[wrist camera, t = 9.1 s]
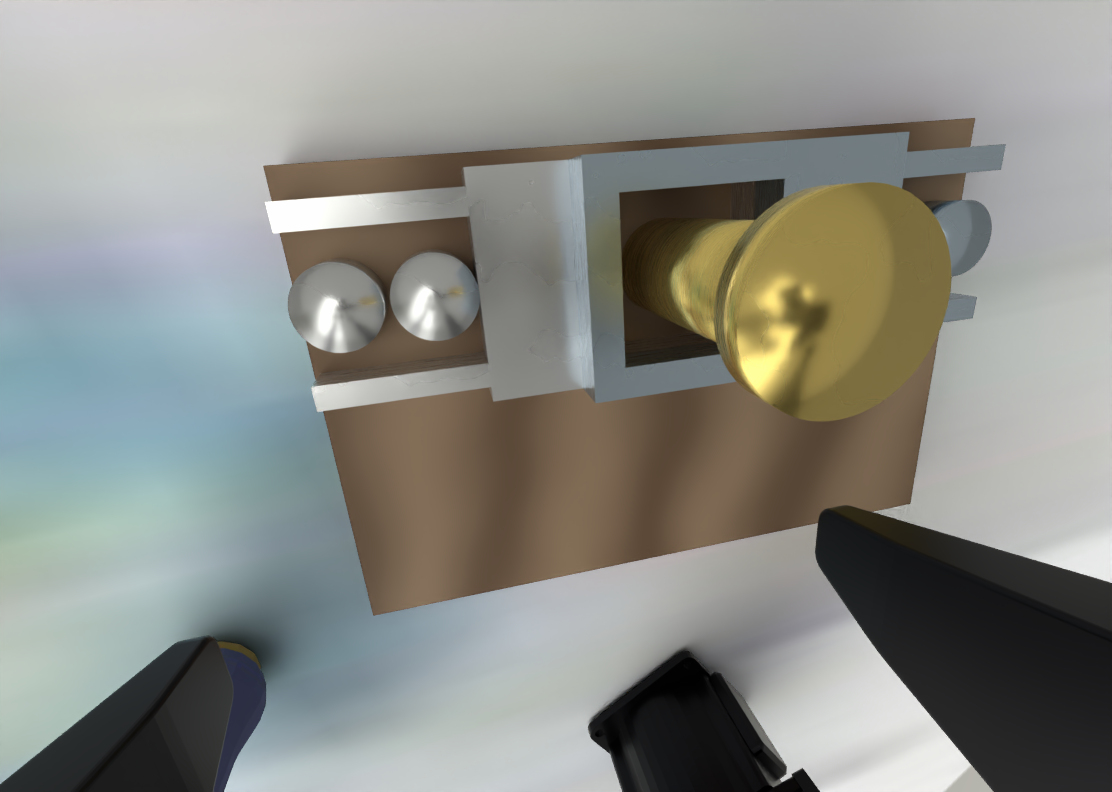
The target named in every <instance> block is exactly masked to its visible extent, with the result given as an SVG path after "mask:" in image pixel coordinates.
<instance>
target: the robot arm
mask: <svg viewBox="0 0 1112 792" xmlns="http://www.w3.org/2000/svg"><path fill="white" fill-rule="evenodd" d="M815 555H816V560H817V563H818V565H819V567H820V569H821V570H822V572H823V573H824V575H825V576H826V578H827V579H828V581H829V582H830V583H831V585H832V586H833V588H834V589H835V591H836V592H837V594H838V595H839V597H840V598H841V599H842V601H843V602H844V604H845V605H846V607H847V608H848V610H849V611H850V612H851V614H852V615H853V617H854V618H855V620H856V621H857V623H858V624H859V626H860V627H861V628H862V630H863V631H864V633H865V634H866V636H867V637H868V638H869V640H870V641H871V643H872V644H873V645H874V647H875V648H876V649H877V651H878V652H879V653H880V655H881V656H882V657H883V658H884V660H885V661H886V662H887V664H888V665H889V666H890V667H891V668H892V670H893V671H894V672H895V673H896V675H897V676H898V677H899V678H900V679H901V681H902V682H903V683H904V684H905V685H906V687H907V688H908V689H909V690H910V691H911V693H912V694H913V695H914V696H915V697H916V699H917V700H918V701H919V702H920V703H921V705H922V706H923V707H924V708H925V709H926V711H927V712H928V713H929V714H930V716H931V717H932V718H933V719H934V720H935V722H936V723H937V724H938V725H939V726H940V728H941V729H942V730H943V731H944V732H945V734H946V735H947V736H948V737H949V738H950V740H951V741H952V742H953V743H954V744H955V746H956V747H957V748H958V749H959V750H960V752H961V753H962V754H963V755H964V757H965V758H966V759H967V760H968V761H969V763H970V764H971V765H972V766H973V767H974V768H975V770H976V771H977V772H978V773H979V774H980V776H981V777H982V778H983V779H984V781H985V782H986V783H987V784H988V785H989V787H990V788H991V789H992V790H993V791H994V792H1112V583H1110V582H1107V581H1103V580H1100V579H1097V578H1093V577H1090V576H1086V575H1083V574H1080V573H1076V572H1073V571H1070V570H1066V569H1063V568H1059V567H1056V566H1053V565H1049V564H1046V563H1042V562H1039V561H1036V560H1032V559H1029V558H1026V557H1022V556H1019V555H1015V554H1012V553H1009V552H1005V551H1002V550H998V549H995V548H992V547H988V546H985V545H982V544H978V543H975V542H971V541H968V540H965V539H961V538H958V537H955V536H951V535H948V534H944V533H941V532H938V531H934V530H931V529H927V528H924V527H921V526H917V525H914V524H911V523H907V522H904V521H900V520H897V519H894V518H890V517H887V516H884V515H880V514H877V513H873V512H870V511H867V510H863V509H860V508H856V507H853V506H849V505H841V506H837V507H832V508H827V509H824V510H823V511H822V512H821V513H820V515H819V519H818V528H817V538H816V548H815ZM233 693H234V692H233V682H232V679H231V676H230V673H229V671H228V668H227V665H226V663H225V660H224V658H223V655H222V652H221V650H220V647H219V644H218V643H217V641H216V640H215V638H214V637H211V636H202V637H198V638H193V639H188V640H183V641H179V642H177V643H175V644H174V645H172V646H171V647H170V648H168V649H167V650H166V651H165V652H163V653H162V654H161V655H160V656H159V657H157V658H156V659H155V660H154V661H152V662H151V663H150V664H149V665H147V666H146V667H145V668H144V669H142V670H141V671H140V672H139V673H137V674H136V675H135V676H134V677H133V678H131V679H130V680H129V681H128V682H126V683H125V684H124V685H123V686H121V687H120V688H119V689H118V690H116V691H115V692H114V693H113V694H111V695H110V696H109V697H108V698H106V699H105V700H104V701H103V702H102V703H100V704H99V705H98V706H97V707H95V708H94V709H93V710H92V711H90V712H89V713H88V714H87V715H85V716H84V717H83V718H82V719H80V720H79V721H78V722H77V723H76V724H74V725H73V726H72V727H71V728H69V729H68V730H67V731H66V732H64V733H63V734H62V735H61V736H59V737H58V738H57V739H56V740H54V741H53V742H52V743H51V744H49V745H48V746H47V747H46V748H45V749H43V750H42V751H41V752H40V753H38V754H37V755H36V756H35V757H33V758H32V759H31V760H30V761H28V762H27V763H26V764H25V765H23V766H22V767H21V768H20V769H19V770H17V771H16V772H15V773H14V774H12V775H11V776H10V777H9V778H7V779H6V780H5V781H4V782H2V783H1V784H0V792H213V791H214V786H215V781H216V777H217V772H218V767H219V763H220V758H221V753H222V749H223V744H224V739H225V735H226V730H227V725H228V721H229V716H230V711H231V707H232V702H233ZM588 730H589V734H590V737H591V739H592V740H593V741H595V742H596V743H597V744H598V745H600V746H601V747H602V748H603V749H605V750H606V751H607V752H608V753H610V755H611V758H612V761H613V764H614V767H615V771H616V774H617V777H618V780H619V783H620V786H621V789H622V792H820V791H819V790H818V788H817V787H816V786H815V784H814V783H813V781H812V780H811V779H810V777H809V776H808V775H807V773H806V772H805V771H804V769H803V768H802V769H800V770H798V771H796V772H794V773H793V774H792V777H791V778H789V779H787V780H786V781H784V782H781V780H780V778H782V777H783V776H784V775H786V770H787V766H786V765H785V763H784V761H783V760H782V758H781V757H780V755H779V754H778V752H777V750H776V749H775V747H774V746H773V744H772V743H771V741H770V739H769V738H768V736H767V735H766V733H765V732H764V730H763V728H762V727H761V725H760V724H759V722H758V720H757V719H756V717H755V716H754V714H753V713H752V711H751V709H750V708H749V706H748V705H747V703H746V702H745V700H744V698H743V697H742V696H741V695H740V694H739V693H738V691H737V690H736V689H735V688H734V687H733V686H732V685H731V684H730V683H729V682H728V681H727V680H726V679H725V678H724V677H723V676H722V674H721V673H716V672H714V673H713V674H711V673H710V672H709V671H708V670H707V669H706V668H705V667H704V666H703V665H702V664H701V662H700V661H699V660H698V659H697V658H696V657H695V656H694V655H693V654H692V653H691V652H689V651H684V652H681V653H679V654H678V655H676V656H675V657H674V658H673V659H671V660H670V661H669V662H667V663H666V664H665V665H664V666H662V667H661V668H660V669H658V670H657V671H656V672H655V673H653V674H652V675H651V676H649V677H648V678H647V679H646V680H644V681H643V682H642V683H641V684H639V685H638V686H637V687H635V688H634V689H633V690H632V691H630V692H629V693H628V694H626V695H625V696H624V697H623V698H621V699H620V700H619V701H617V702H616V703H615V704H614V705H612V706H611V707H610V708H608V709H607V710H606V711H605V712H603V713H602V714H601V715H600V716H598V717H597V718H596V719H594V720H593V721H592V722H591V723H590V724H589V726H588Z"/></svg>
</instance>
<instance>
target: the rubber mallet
mask: <svg viewBox="0 0 1112 792" xmlns="http://www.w3.org/2000/svg"><path fill="white" fill-rule="evenodd" d="M217 643H218V644H219V647H220V650H221V652H222V655H223V658H224V660H225V663H226V665H227V668H228V671H229V673H230V676H231V679H232V682H233V692H234V693H233V702H232V707H231V711H230V716H229V721H228V725H227V730H226V735H225V739H224V744H223V749H222V753H221V758H220V763H219V767H218V772H217V777H216V781H215V786H214V791H213V792H224V789H225V787H226V784H227V781H228V778H229V776H230V773H231V770H232V768H233V765H234V762H235V760H236V758H237V756H238V754H239V753H240V751H241V749H242V748H243V746H244V745H245V743H246V742H247V740H248V739H249V737H250V736H251V734H252V733H253V731H254V729H255V728H256V726H257V724H258V723H259V721H260V719H261V716H262V714H263V711H264V708H265V704H266V682H265V679H264V676H263V673H262V672H261V670H260V669H261V665H260V663H259V661H258V659H257V657H256V655H255V654H254V653H253V652H252V651H250V650H248V649H247V648H245V647H244V646H242V645H240V644H235V643H229V642H223V641H219V642H217Z"/></svg>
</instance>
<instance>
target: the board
mask: <svg viewBox="0 0 1112 792" xmlns="http://www.w3.org/2000/svg"><path fill="white" fill-rule="evenodd" d="M974 122H975V118H969V119H954V120H939V121H924V122H909V123H894V124H879V125H864V126H850V127H835V128H820V129H805V130H790V131H775V132H760V133H745V134H730V135H715V136H701V137H686V138H671V139H656V140H641V141H626V142H611V143H596V144H581V145H566V146H551V147H537V148H522V149H507V150H492V151H477V152H462V153H447V154H432V155H417V156H402V157H388V158H373V159H358V160H343V161H328V162H313V163H298V164H283V165H268V166H263V167H264V171H265V175H266V179H267V183H268V187H269V191H270V195H271V199H272V201H284V200H297V199H310V198H323V197H336V196H348V195H361V194H374V193H387V192H400V191H413V190H425V189H438V188H451V187H463V184H462V176H461V170H462V168H463V167H472V166H486V165H500V164H514V163H528V162H542V161H556V160H568V159H571V158H574V157H577V156H579V155H585V154H599V153H614V152H628V151H642V150H656V149H670V148H685V147H699V146H713V145H727V144H741V143H756V142H770V141H784V140H798V139H812V138H826V137H841V136H855V135H869V134H883V133H897V132H909V140H908V147H907V152H913V151H926V150H938V149H951V148H964V147H970V145H971V140H972V134H973V128H974ZM965 175H966V173H957V174H946V175H934V176H923V177H911V178H903V185H902V189H904V190H906V191H908V192H910V193H912V194H913V195H914V196H916V197H917V198H919V199H920V200H921V201H922V202H926V201H948V200H961V199H962V193H963V187H964V181H965ZM619 204H620V232H621V253H622V250H623V248H624V246H625V244H626V242H627V240H628V239H629V237H630V236H631V235H632V234H633V232H634V231H635V230H637V229H638V228H639V227H640V226H642V225H643V224H645V223H647V222H648V221H651V220H654V219H658V218H666V217H667V218H702V219H730V215H731V183H726V184H715V185H703V186H691V187H679V188H667V189H655V190H643V191H631V192H619ZM280 236H281V240H282V244H283V248H284V253H285V257H286V261H287V265H288V269H289V273H290V277H291V281H292V285H293V283H294V282H295V280H296V279H297V278H298V277H299V275H301V274H302V273H303V272H304V271H306V270H307V269H309V268H311V267H313V266H315V265H317V264H319V263H321V262H323V261H326V260H329V259H335V258H345V259H351V260H355V261H358V262H360V263H362V264H364V265H366V266H367V267H369V268H370V269H371V270H372V271H374V272H375V273H376V274H377V276H378V277H379V278H380V280H381V281H382V283H383V285H384V287H385V289H386V292H387V296H388V310H387V314H386V318H385V320H384V322H383V324H382V327H381V329H380V331H379V333H378V334H377V336H376V337H375V338H374V339H373V340H372V341H371V342H370V343H369V344H368V345H366V346H364V347H363V348H361V349H359V350H356V351H353V352H347V353H333V352H328V351H324V350H321V349H319V348H317V347H315V346H313V345H311V344H310V343H309V342H307V341H306V342H307V346H308V351H309V355H310V359H311V363H312V367H313V371H314V375H315V379H317V378H318V376H319V375H320V373H324V372H332V371H339V370H347V369H354V368H362V367H370V366H377V365H385V364H393V363H400V362H408V361H415V360H423V359H431V358H438V357H446V356H453V355H461V354H469V353H476V352H484V347H483V339H482V331H481V323H480V316H479V309H478V312H477V315H476V317H475V319H474V321H473V322H472V324H471V325H470V326H469V327H468V328H467V329H466V330H465V331H464V332H463V333H461V334H460V335H458V336H456V337H454V338H451V339H448V340H443V341H430V340H425V339H422V338H419V337H417V336H415V335H413V334H411V333H410V332H409V331H407V330H406V329H405V328H404V327H403V326H402V325H401V324H400V323H399V321H398V320H397V318H396V317H395V315H394V312H393V310H392V307H391V302H390V288H391V284H392V280H393V278H394V276H395V274H396V272H397V270H398V269H399V267H400V266H401V264H402V263H403V262H404V261H405V260H406V259H407V258H408V257H410V256H411V255H413V254H415V253H417V252H419V251H423V250H428V249H438V250H443V251H447V252H449V253H452V254H453V255H455V256H457V257H458V258H460V259H461V260H462V261H463V262H464V263H465V264H466V265H467V266H468V268H469V269H470V271H471V273H472V274H473V276H474V269H473V261H472V254H471V246H470V238H469V230H468V223H467V216H466V217H455V218H443V219H432V220H420V221H409V222H398V223H386V224H375V225H363V226H352V227H340V228H329V229H318V230H306V231H295V232H283V233H280ZM474 278H475V277H474ZM623 314H624V341H630V340H638V339H645V338H652V337H660V336H667V335H675V334H682V333H690V332H692V331H690V330H688V329H686V328H684V327H682V326H679V325H677V324H675V323H673V322H671V321H669V320H666V319H664V318H662V317H660V316H658V315H656V314H653V313H651V312H649V311H647V310H645V309H643V308H641V307H639V306H637V305H636V304H634V303H633V302H632V301H631V300H630V299H629V297H628V296H627V295H626V293H625V291H624V289H623ZM938 335H939V333H938ZM938 335H937V337H936V339H935V341H934V343H933V345H932V347H931V349H930V351H929V352H928V354H927V355H926V357H925V358H924V360H923V362H922V363H921V364H920V366H919V367H918V368H917V369H916V371H915V372H914V373H913V374H912V376H911V377H910V378H909V379H908V380H907V381H906V382H905V383H904V384H903V385H902V386H901V387H900V388H899V389H897V390H896V391H895V392H894V393H893V394H892V395H890V396H889V397H888V398H886V399H885V400H883V401H882V402H881V403H879V404H877V405H875V406H874V407H872V408H870V409H868V410H866V411H864V412H862V413H859V414H857V415H855V416H851V417H848V418H844V419H840V420H834V421H808V420H803V419H799V418H796V417H792V416H790V415H788V414H786V413H784V412H782V411H780V410H778V409H776V408H775V407H773V406H771V405H769V404H768V403H766V402H764V401H762V400H761V399H759V398H757V397H755V396H754V395H752V394H751V393H749V392H748V391H746V390H745V389H744V388H743V387H742V386H741V385H739V384H738V383H737V382H732V383H725V384H719V385H712V386H706V387H699V388H693V389H686V390H680V391H673V392H666V393H660V394H653V395H647V396H640V397H634V398H627V399H621V400H614V401H608V402H601V403H595V402H594V401H593V400H592V399H591V397H590V396H589V395H588V394H587V393H586V391H585V390H584V389H583V388H582V389H575V390H569V391H562V392H555V393H548V394H541V395H535V396H528V397H521V398H514V399H508V400H501V401H494V402H493V399H492V396H491V393H490V390H489V387H488V388H481V389H474V390H467V391H460V392H453V393H446V394H439V395H432V396H425V397H418V398H411V399H404V400H397V401H390V402H383V403H376V404H369V405H362V406H355V407H348V408H341V409H334V410H327V411H323V412H324V416H325V420H326V424H327V428H328V432H329V436H330V440H331V445H332V449H333V453H334V457H335V461H336V465H337V469H338V473H339V477H340V481H341V485H342V489H343V494H344V498H345V502H346V506H347V510H348V514H349V518H350V522H351V526H352V530H353V534H354V539H355V543H356V547H357V551H358V555H359V559H360V563H361V567H362V571H363V575H364V579H365V583H366V588H367V592H368V596H369V600H370V604H371V608H372V612H373V616H374V615H379V614H384V613H389V612H393V611H398V610H403V609H408V608H413V607H417V606H422V605H427V604H432V603H437V602H441V601H446V600H451V599H456V598H461V597H465V596H470V595H475V594H480V593H484V592H489V591H494V590H499V589H504V588H508V587H513V586H518V585H523V584H528V583H532V582H537V581H542V580H547V579H552V578H556V577H561V576H566V575H571V574H576V573H580V572H585V571H590V570H595V569H600V568H604V567H609V566H614V565H619V564H623V563H628V562H633V561H638V560H643V559H647V558H652V557H657V556H662V555H667V554H671V553H676V552H681V551H686V550H691V549H695V548H700V547H705V546H710V545H715V544H719V543H724V542H729V541H734V540H739V539H743V538H748V537H753V536H758V535H762V534H767V533H772V532H777V531H782V530H786V529H791V528H796V527H801V526H806V525H810V524H815V523H818V519H819V515H820V513H821V512H822V511H823V510H824V509H827V508H832V507H837V506H841V505H849V506H853V507H856V508H860V509H863V510H867V511H870V512H873V511H878V510H882V509H887V508H892V507H897V506H902V505H906V504H910V502H911V496H912V490H913V484H914V478H915V472H916V466H917V460H918V454H919V448H920V442H921V436H922V430H923V425H924V419H925V413H926V407H927V401H928V395H929V389H930V383H931V377H932V371H933V365H934V359H935V353H936V347H937V341H938Z"/></svg>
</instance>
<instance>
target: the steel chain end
mask: <svg viewBox="0 0 1112 792" xmlns="http://www.w3.org/2000/svg"><path fill="white" fill-rule="evenodd" d="M461 176H462V184H463V187H451V188H438V189H425V190H413V191H400V192H387V193H374V194H361V195H348V196H336V197H323V198H310V199H297V200H284V201H271V202H265V204H266V208H267V212H268V216H269V220H270V224H271V228H272V232H273V233H283V232H295V231H306V230H318V229H329V228H340V227H352V226H363V225H375V224H386V223H398V222H409V221H420V220H432V219H443V218H455V217H466V216H467V223H468V230H469V238H470V246H471V254H472V261H473V269H474V276H473V274H472V273H471V271H470V269H469V268H468V266H467V265H466V264H465V263H464V262H463V261H462V260H461V259H460V258H458V257H457V256H455V255H453V254H452V253H449V252H447V251H443V250H438V249H428V250H423V251H419V252H417V253H415V254H413V255H411V256H410V257H408V258H407V259H406V260H405V261H404V262H403V263H402V264H401V266H400V267H399V269H398V270H397V272H396V274H395V276H394V278H393V280H392V284H391V288H390V302H391V307H392V310H393V312H394V315H395V317H396V318H397V320H398V321H399V323H400V324H401V325H402V326H403V327H404V328H405V329H406V330H407V331H409V332H410V333H411V334H413V335H415V336H417V337H419V338H422V339H425V340H430V341H443V340H448V339H451V338H454V337H456V336H458V335H460V334H461V333H463V332H464V331H465V330H466V329H467V328H468V327H469V326H470V325H471V324H472V322H473V321H474V319H475V317H476V315H477V312H478V309H479V316H480V323H481V331H482V339H483V347H484V352H476V353H469V354H461V355H453V356H446V357H438V358H431V359H423V360H415V361H408V362H400V363H393V364H385V365H377V366H370V367H362V368H354V369H347V370H339V371H332V372H324V373H320V375H319V376H318V378H317V379H316V381H315V382H314V383H313V385H312V386H311V389H312V393H313V397H314V401H315V405H316V409H317V412H320V411H327V410H334V409H341V408H348V407H355V406H362V405H369V404H376V403H383V402H390V401H397V400H404V399H411V398H418V397H425V396H432V395H439V394H446V393H453V392H460V391H467V390H474V389H481V388H488V387H489V390H490V393H491V396H492V399H493V402H494V401H501V400H508V399H514V398H521V397H528V396H535V395H541V394H548V393H555V392H562V391H569V390H575V389H582V388H583V381H582V366H581V351H580V335H579V320H578V305H577V290H576V275H575V259H574V244H573V229H572V214H571V198H570V183H569V168H568V160H556V161H542V162H528V163H514V164H500V165H486V166H472V167H463V168H462V170H461ZM714 185H715V184H714ZM702 186H703V185H702ZM690 187H691V186H690ZM678 188H679V187H678ZM666 189H667V188H666ZM654 190H655V189H654ZM642 191H643V190H642ZM755 191H756V181H749V182H738V183H731V215H730V219H737V220H754V214H755ZM630 192H631V191H630ZM474 277H475V278H474ZM387 310H388V296H387V292H386V289H385V287H384V285H383V283H382V281H381V280H380V278H379V277H378V276H377V274H376V273H375V272H374V271H372V270H371V269H370V268H369V267H367V266H366V265H364V264H362V263H360V262H358V261H355V260H351V259H345V258H335V259H329V260H326V261H323V262H321V263H319V264H317V265H315V266H313V267H311V268H309V269H307V270H306V271H304V272H303V273H302V274H301V275H299V277H298V278H297V279H296V280H295V282H294V283H293V285H292V287H291V289H290V292H289V296H288V311H289V316H290V319H291V321H292V323H293V326H294V327H295V329H296V330H297V332H298V333H299V334H300V335H301V336H302V337H303V338H304V339H305V340H306V341H307V342H309V343H310V344H311V345H313V346H315V347H317V348H319V349H321V350H324V351H328V352H333V353H347V352H353V351H356V350H359V349H361V348H363V347H364V346H366V345H368V344H369V343H370V342H371V341H372V340H373V339H374V338H375V337H376V336H377V334H378V333H379V331H380V329H381V327H382V324H383V322H384V320H385V318H386V314H387ZM711 341H712V340H710V339H708V338H705V337H703V336H701V335H699V334H697V333H695V332H690V333H682V334H675V335H667V336H660V337H652V338H645V339H638V340H630V341H624V342H625V353H632V352H639V351H646V350H654V349H661V348H668V347H675V346H682V345H690V344H697V343H704V342H711Z"/></svg>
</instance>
